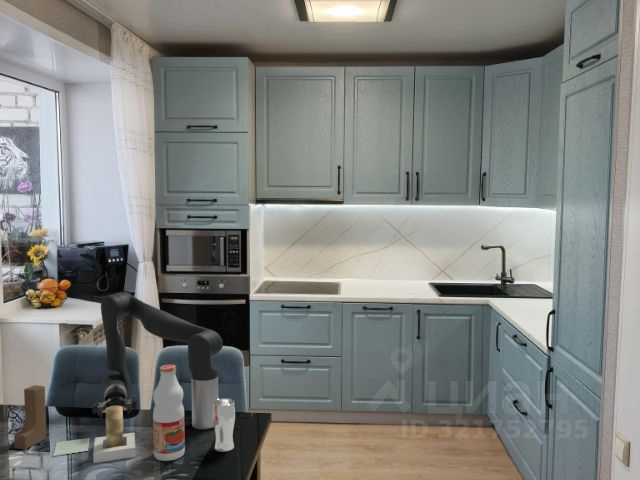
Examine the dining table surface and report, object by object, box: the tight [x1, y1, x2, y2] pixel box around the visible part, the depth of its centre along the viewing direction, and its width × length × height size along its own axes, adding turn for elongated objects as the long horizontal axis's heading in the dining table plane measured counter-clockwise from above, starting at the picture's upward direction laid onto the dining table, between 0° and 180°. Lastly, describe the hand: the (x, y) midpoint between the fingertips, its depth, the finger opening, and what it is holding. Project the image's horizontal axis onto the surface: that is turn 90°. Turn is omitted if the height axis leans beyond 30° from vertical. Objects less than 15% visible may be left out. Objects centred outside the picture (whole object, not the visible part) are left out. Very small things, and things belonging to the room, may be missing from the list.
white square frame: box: [92, 432, 136, 464], centre depth 170 cm, size 12×12×3 cm
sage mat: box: [52, 437, 91, 458], centre depth 173 cm, size 10×10×1 cm
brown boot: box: [13, 384, 47, 451], centre depth 176 cm, size 9×4×18 cm, turn 163°
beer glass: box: [213, 397, 236, 453], centre depth 173 cm, size 7×7×15 cm
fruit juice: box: [152, 364, 186, 462], centre depth 167 cm, size 9×9×28 cm
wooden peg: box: [105, 406, 124, 448], centre depth 170 cm, size 5×5×14 cm
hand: (114, 412), depth 180 cm, fingers open, 8 cm apart
